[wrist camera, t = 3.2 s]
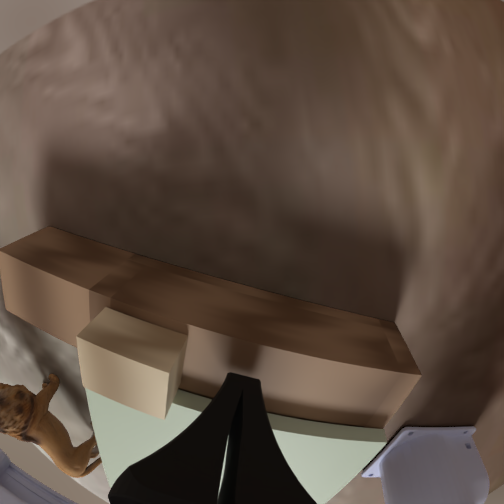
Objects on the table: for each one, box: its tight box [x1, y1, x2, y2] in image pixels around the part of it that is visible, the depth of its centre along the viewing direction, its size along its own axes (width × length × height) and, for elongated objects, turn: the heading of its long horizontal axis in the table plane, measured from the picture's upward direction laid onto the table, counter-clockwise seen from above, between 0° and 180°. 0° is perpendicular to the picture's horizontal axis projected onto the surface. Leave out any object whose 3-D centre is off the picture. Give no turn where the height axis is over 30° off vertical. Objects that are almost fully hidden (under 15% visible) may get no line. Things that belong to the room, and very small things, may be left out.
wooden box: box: [0, 226, 422, 429], centre depth 18 cm, size 23×20×5 cm
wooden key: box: [76, 307, 188, 420], centre depth 12 cm, size 4×3×2 cm
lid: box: [85, 388, 387, 504], centre depth 15 cm, size 16×16×4 cm
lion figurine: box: [0, 374, 102, 478], centre depth 19 cm, size 15×5×9 cm, turn 39°
